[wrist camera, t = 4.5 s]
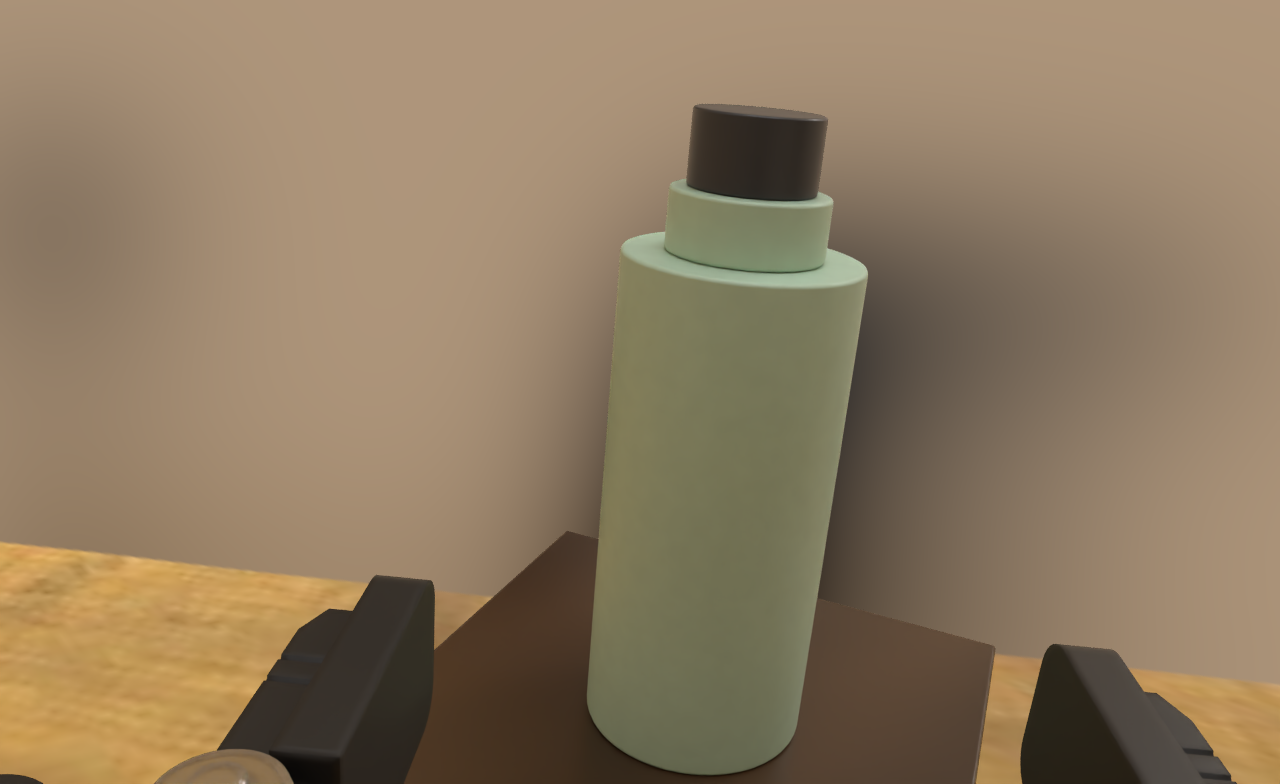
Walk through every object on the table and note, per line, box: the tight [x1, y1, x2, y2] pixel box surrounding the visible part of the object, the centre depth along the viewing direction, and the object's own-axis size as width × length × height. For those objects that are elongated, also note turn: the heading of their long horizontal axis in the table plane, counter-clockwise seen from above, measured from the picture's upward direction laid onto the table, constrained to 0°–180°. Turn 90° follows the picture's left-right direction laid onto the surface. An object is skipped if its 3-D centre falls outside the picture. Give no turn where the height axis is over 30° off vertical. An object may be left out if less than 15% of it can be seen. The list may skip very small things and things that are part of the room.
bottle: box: [587, 104, 868, 775], centre depth 20 cm, size 5×5×13 cm
